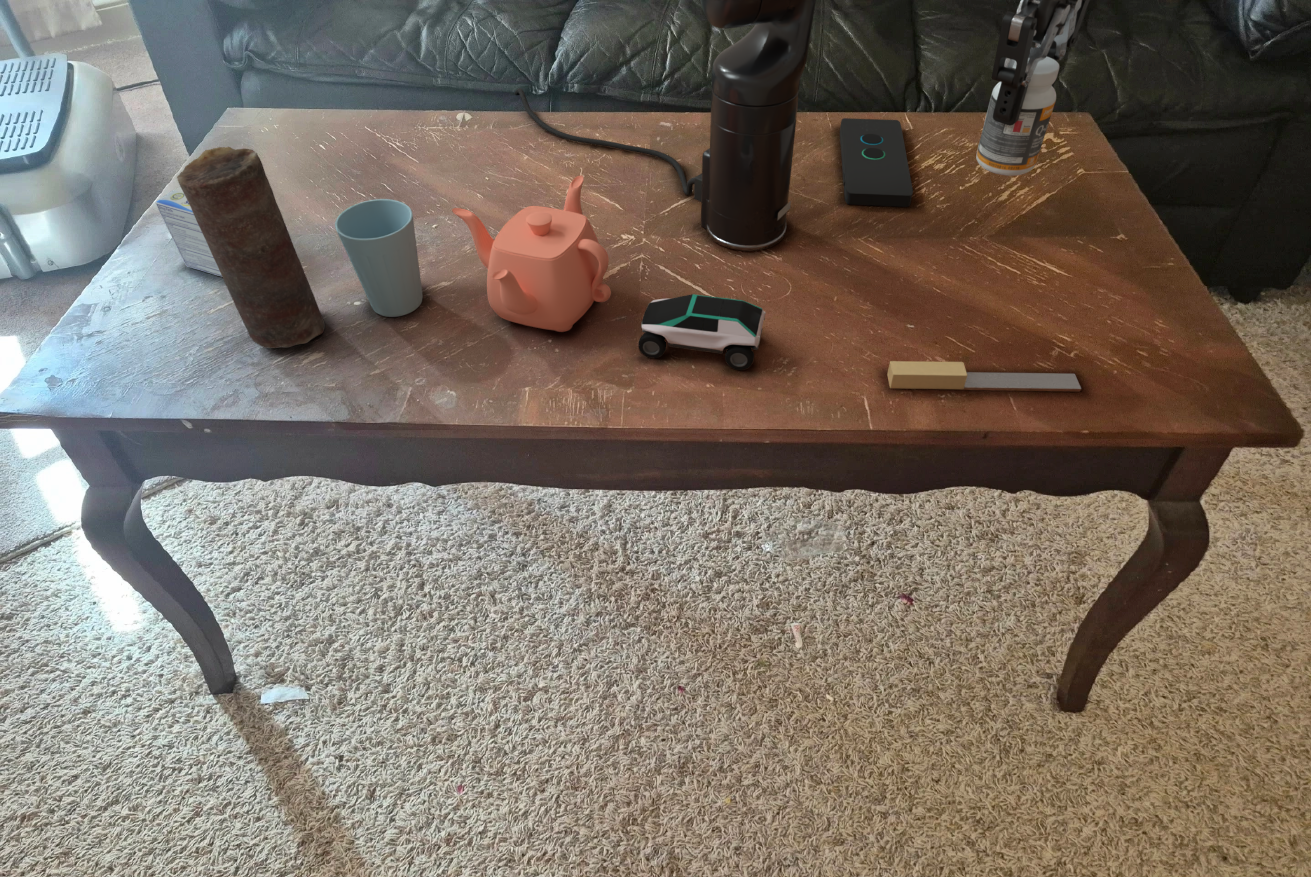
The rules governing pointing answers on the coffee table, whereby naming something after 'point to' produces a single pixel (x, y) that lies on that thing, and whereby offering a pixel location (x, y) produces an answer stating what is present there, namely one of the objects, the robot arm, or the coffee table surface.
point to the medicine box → (186, 232)
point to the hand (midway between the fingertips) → (1019, 109)
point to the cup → (383, 254)
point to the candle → (251, 246)
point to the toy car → (703, 327)
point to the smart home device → (874, 163)
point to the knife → (973, 378)
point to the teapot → (542, 264)
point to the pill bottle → (1020, 126)
